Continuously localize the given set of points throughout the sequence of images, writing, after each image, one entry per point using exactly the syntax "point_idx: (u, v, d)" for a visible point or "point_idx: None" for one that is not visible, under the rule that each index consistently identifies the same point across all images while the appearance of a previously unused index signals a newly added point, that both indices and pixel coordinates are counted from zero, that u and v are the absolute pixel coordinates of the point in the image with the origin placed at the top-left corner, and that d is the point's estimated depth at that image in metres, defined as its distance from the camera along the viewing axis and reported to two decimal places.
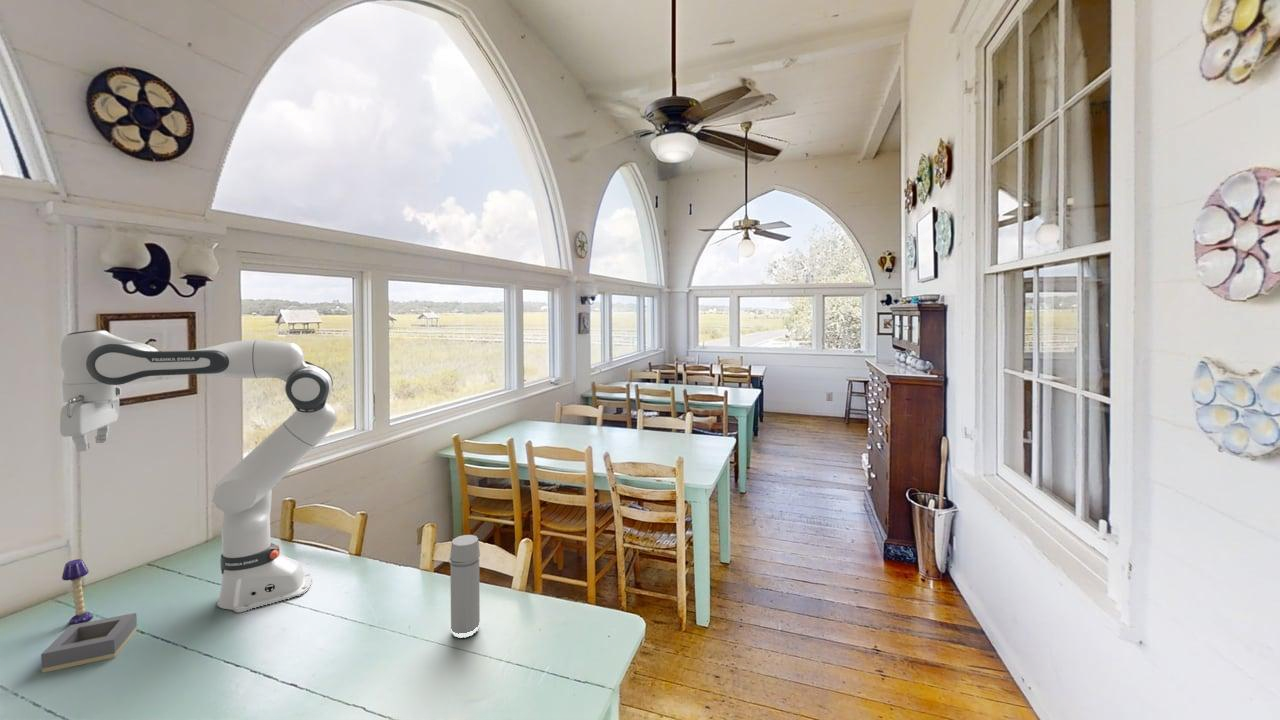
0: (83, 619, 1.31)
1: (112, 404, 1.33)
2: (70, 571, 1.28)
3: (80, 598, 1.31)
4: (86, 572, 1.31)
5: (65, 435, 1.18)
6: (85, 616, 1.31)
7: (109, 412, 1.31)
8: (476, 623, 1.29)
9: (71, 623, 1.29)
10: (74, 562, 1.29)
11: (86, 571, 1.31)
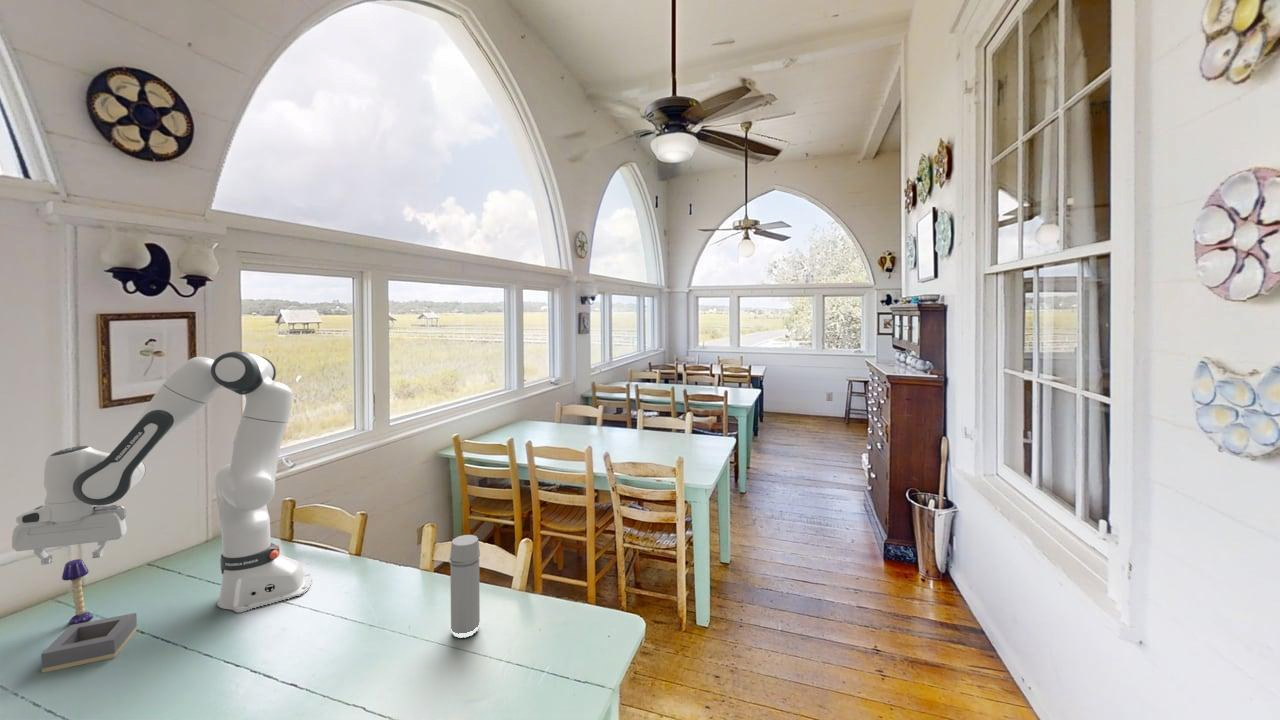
0: (83, 619, 1.31)
1: None
2: (70, 571, 1.28)
3: (80, 598, 1.31)
4: (86, 572, 1.31)
5: (120, 537, 1.33)
6: (85, 616, 1.31)
7: None
8: (476, 623, 1.29)
9: (71, 623, 1.29)
10: (74, 562, 1.29)
11: (86, 571, 1.31)
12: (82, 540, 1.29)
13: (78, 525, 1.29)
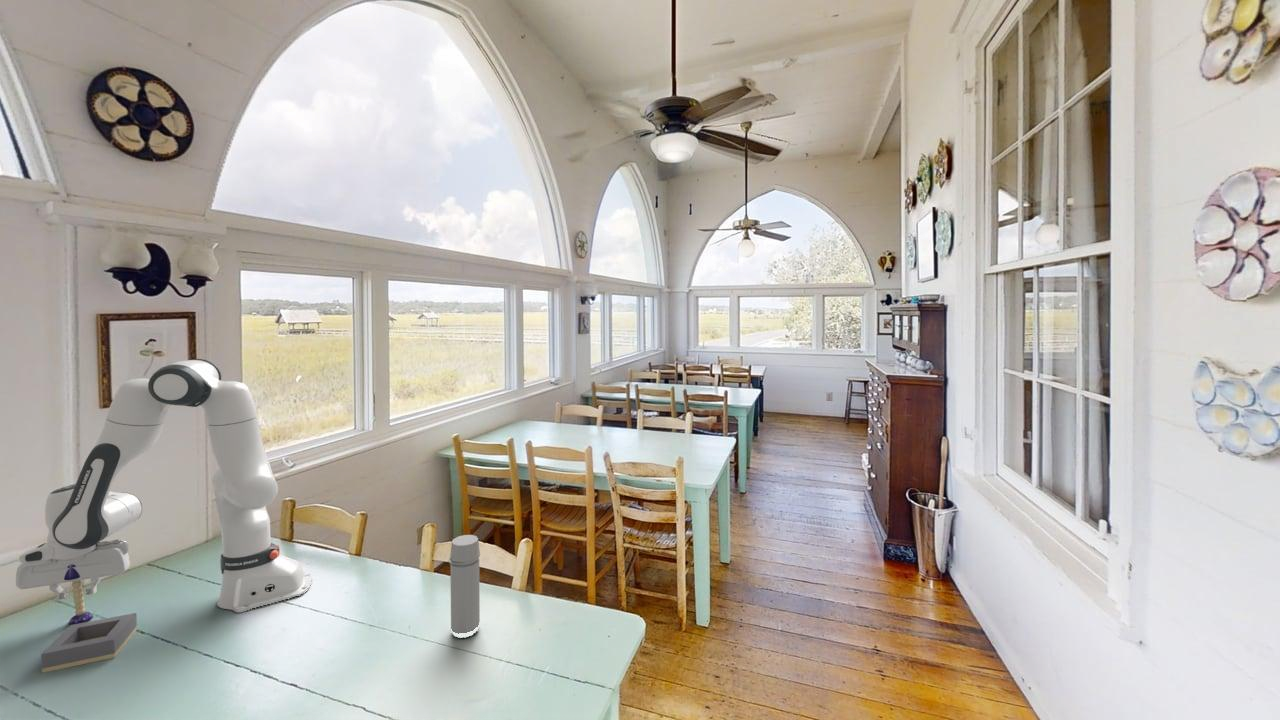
0: (83, 619, 1.31)
1: None
2: (71, 570, 1.28)
3: (80, 598, 1.31)
4: None
5: None
6: (85, 616, 1.31)
7: None
8: (476, 623, 1.29)
9: (71, 623, 1.29)
10: None
11: None
12: (86, 576, 1.30)
13: (81, 561, 1.29)
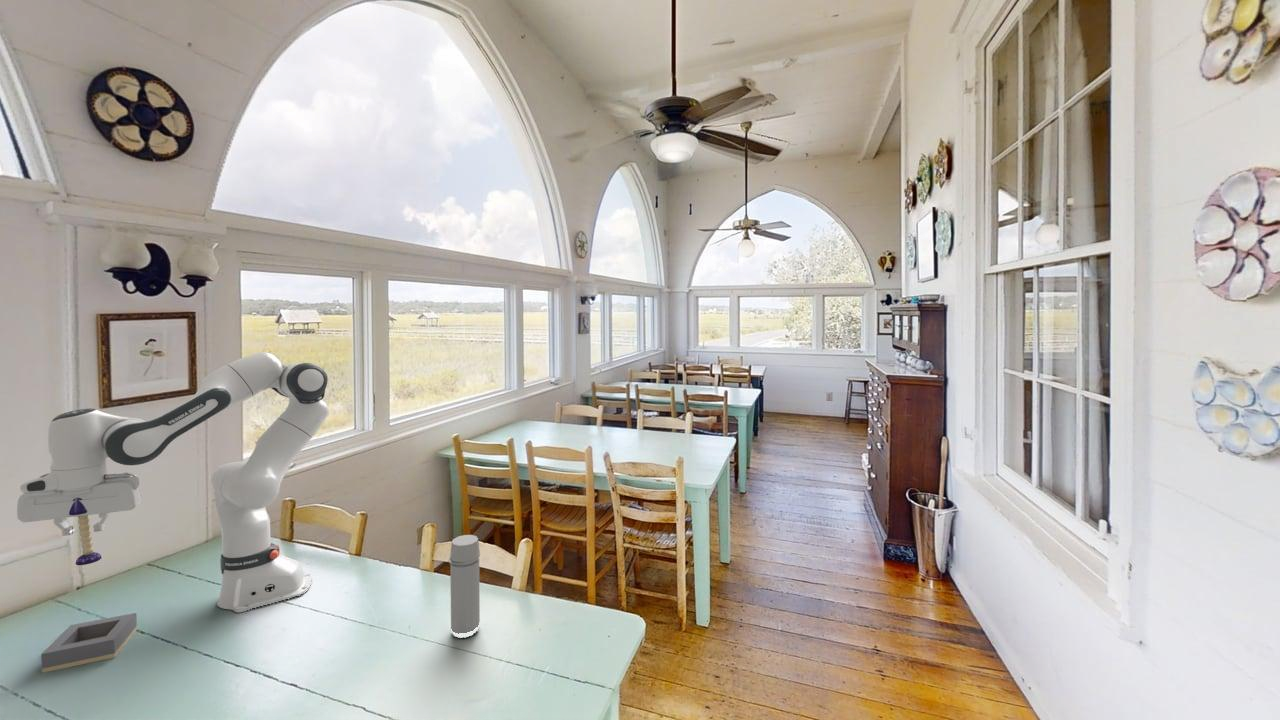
0: (91, 559, 1.20)
1: None
2: (76, 505, 1.17)
3: (87, 536, 1.20)
4: None
5: (134, 507, 1.23)
6: (93, 556, 1.20)
7: None
8: (476, 623, 1.29)
9: (78, 563, 1.18)
10: None
11: None
12: (93, 510, 1.19)
13: (88, 494, 1.18)
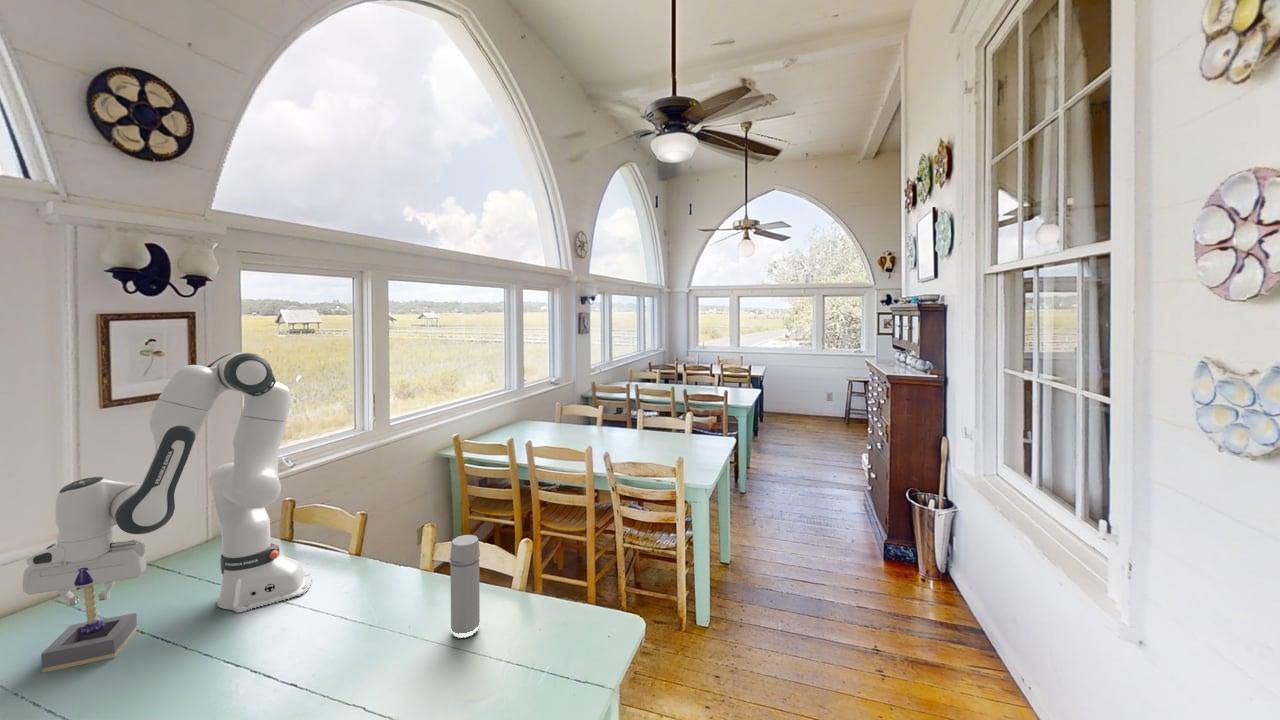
0: (95, 628, 1.19)
1: None
2: (82, 575, 1.17)
3: (92, 605, 1.19)
4: None
5: None
6: (98, 625, 1.20)
7: None
8: (476, 623, 1.29)
9: (83, 633, 1.18)
10: None
11: None
12: (99, 580, 1.19)
13: (94, 564, 1.18)
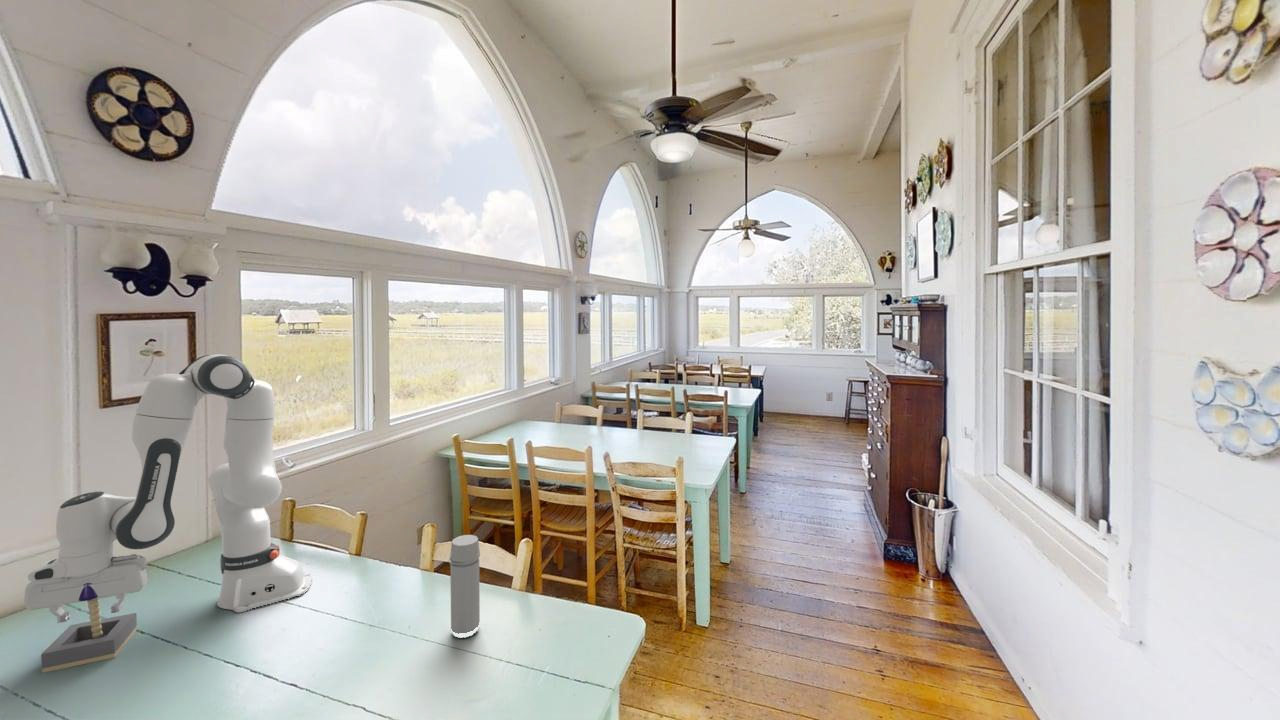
0: None
1: None
2: (86, 590, 1.18)
3: (97, 620, 1.20)
4: None
5: (141, 588, 1.23)
6: None
7: None
8: (476, 623, 1.29)
9: None
10: None
11: None
12: (100, 594, 1.19)
13: (95, 578, 1.19)
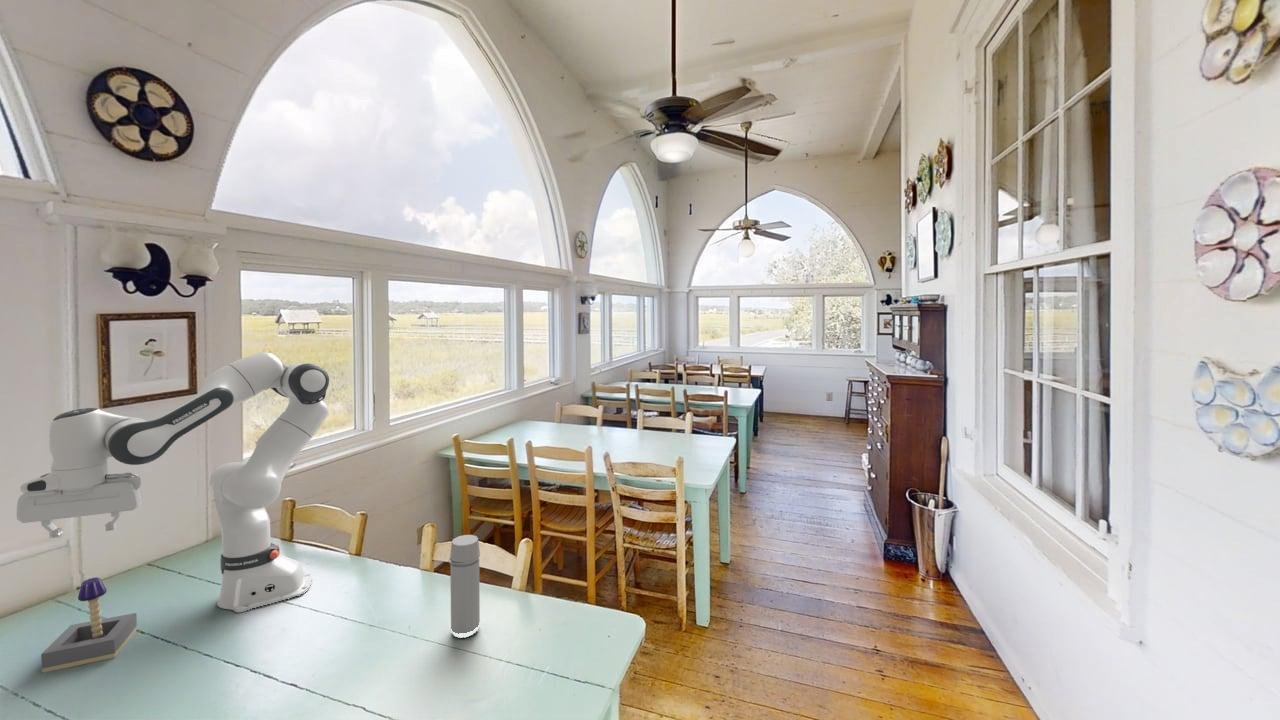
0: None
1: None
2: (87, 590, 1.18)
3: (97, 620, 1.20)
4: (104, 592, 1.20)
5: (136, 507, 1.22)
6: None
7: None
8: (476, 623, 1.29)
9: None
10: (91, 581, 1.18)
11: (104, 590, 1.20)
12: (94, 511, 1.18)
13: (89, 494, 1.17)
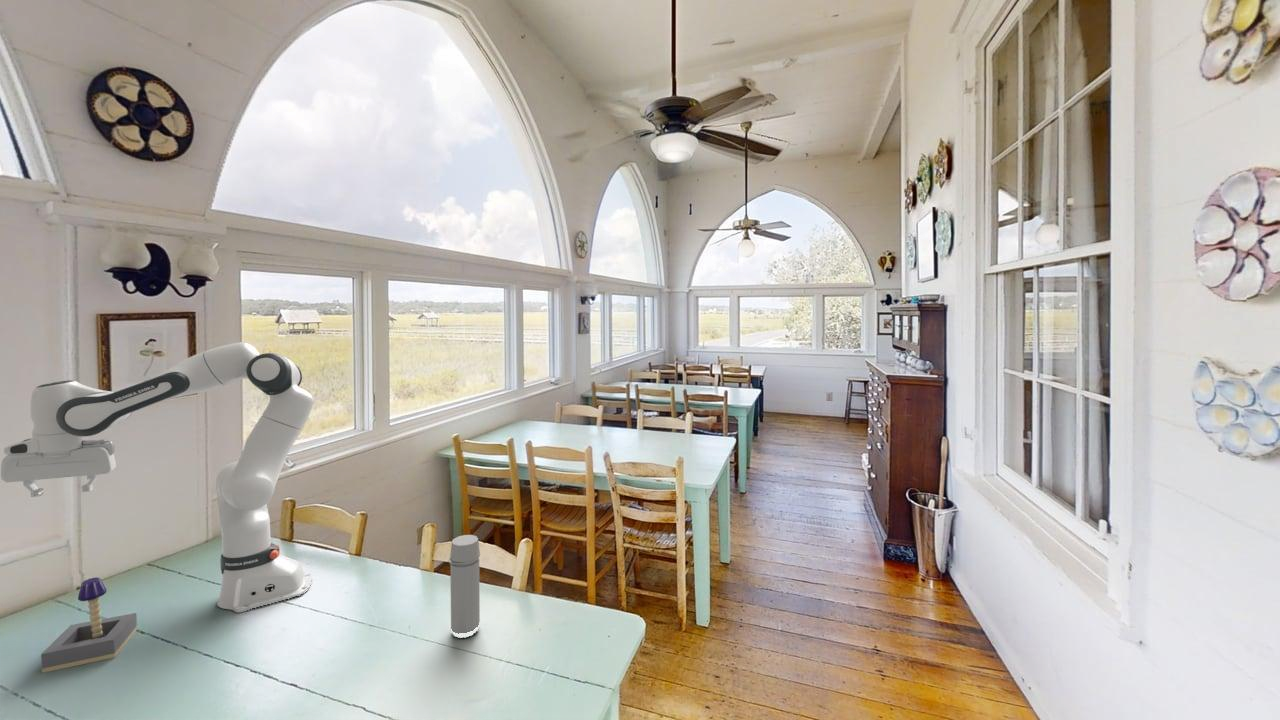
0: None
1: None
2: (87, 590, 1.18)
3: (97, 620, 1.20)
4: (104, 592, 1.20)
5: (110, 471, 1.34)
6: None
7: None
8: (476, 623, 1.29)
9: None
10: (91, 581, 1.18)
11: (104, 590, 1.20)
12: (71, 473, 1.30)
13: (67, 458, 1.30)
